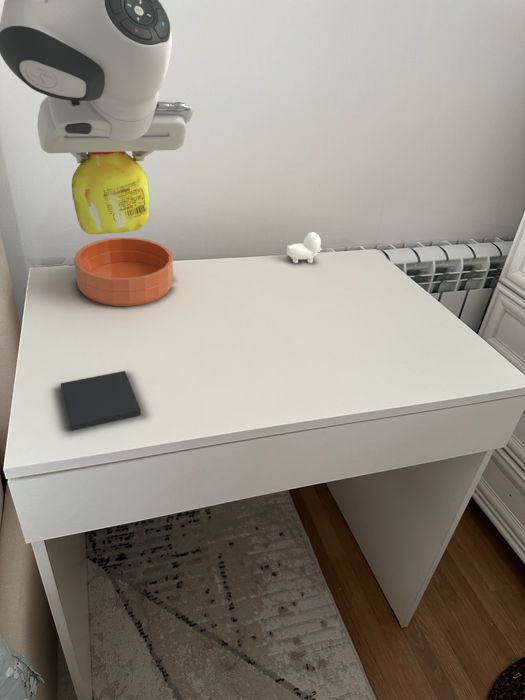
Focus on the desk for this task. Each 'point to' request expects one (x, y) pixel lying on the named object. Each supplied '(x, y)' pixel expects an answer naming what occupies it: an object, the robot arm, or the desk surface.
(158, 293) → the bowl
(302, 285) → the desk surface
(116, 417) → the mat
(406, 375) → the desk surface
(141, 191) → the bottle
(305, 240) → the toy creature
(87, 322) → the desk surface
